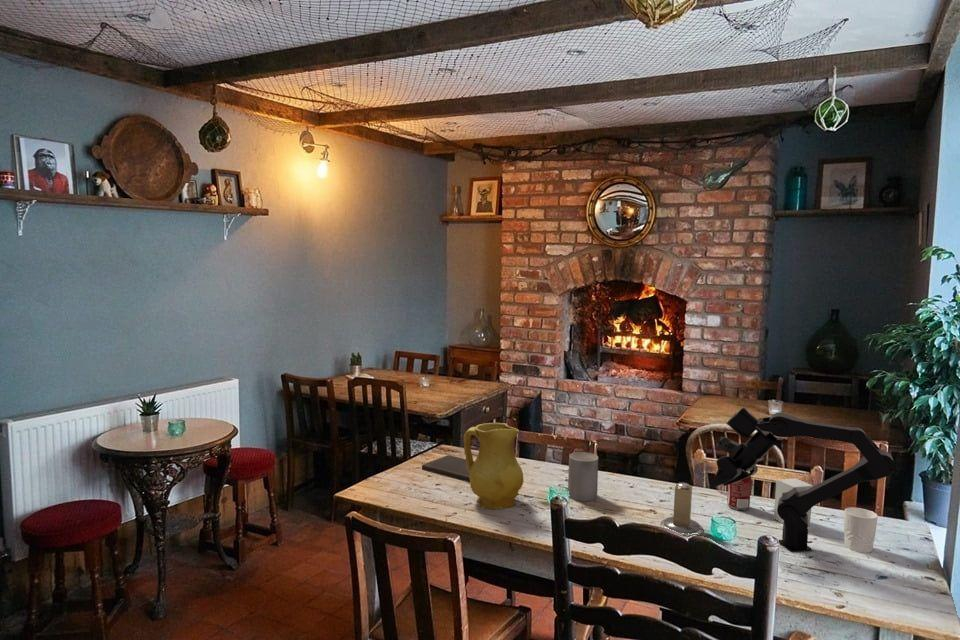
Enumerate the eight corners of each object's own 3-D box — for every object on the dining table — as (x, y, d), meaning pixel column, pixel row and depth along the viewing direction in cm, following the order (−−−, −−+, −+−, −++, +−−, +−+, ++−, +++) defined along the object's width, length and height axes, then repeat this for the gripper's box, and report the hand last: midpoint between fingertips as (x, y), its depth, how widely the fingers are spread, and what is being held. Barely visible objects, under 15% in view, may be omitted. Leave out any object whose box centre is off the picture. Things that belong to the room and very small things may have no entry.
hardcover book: (448, 460, 248) (448, 454, 248) (497, 473, 234) (497, 466, 234) (421, 470, 235) (421, 464, 235) (471, 484, 221) (471, 478, 221)
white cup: (844, 539, 182) (847, 505, 182) (876, 547, 177) (879, 512, 177) (839, 547, 176) (842, 513, 176) (872, 556, 171) (875, 520, 171)
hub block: (690, 522, 189) (692, 483, 188) (689, 527, 184) (691, 488, 183) (674, 519, 190) (676, 481, 189) (672, 524, 186) (675, 485, 185)
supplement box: (790, 528, 189) (793, 487, 188) (772, 518, 196) (775, 478, 195) (810, 526, 191) (813, 485, 190) (792, 516, 198) (795, 477, 197)
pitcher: (493, 515, 192) (494, 433, 191) (456, 500, 206) (457, 423, 205) (534, 505, 202) (535, 426, 202) (495, 491, 217) (497, 418, 216)
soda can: (751, 512, 201) (753, 475, 200) (728, 510, 202) (731, 473, 201) (746, 504, 208) (749, 468, 207) (725, 502, 209) (727, 466, 208)
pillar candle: (574, 489, 218) (575, 446, 216) (601, 494, 213) (603, 451, 211) (562, 497, 209) (564, 453, 208) (590, 504, 204) (592, 458, 203)
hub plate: (710, 535, 182) (710, 531, 182) (671, 536, 181) (671, 532, 181) (691, 518, 194) (691, 515, 194) (653, 520, 193) (654, 516, 192)
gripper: (744, 428, 191) (709, 463, 196) (722, 427, 177) (685, 465, 182) (773, 456, 185) (736, 491, 190) (753, 457, 171) (713, 496, 176)
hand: (717, 485), depth 185 cm, fingers open, 9 cm apart
